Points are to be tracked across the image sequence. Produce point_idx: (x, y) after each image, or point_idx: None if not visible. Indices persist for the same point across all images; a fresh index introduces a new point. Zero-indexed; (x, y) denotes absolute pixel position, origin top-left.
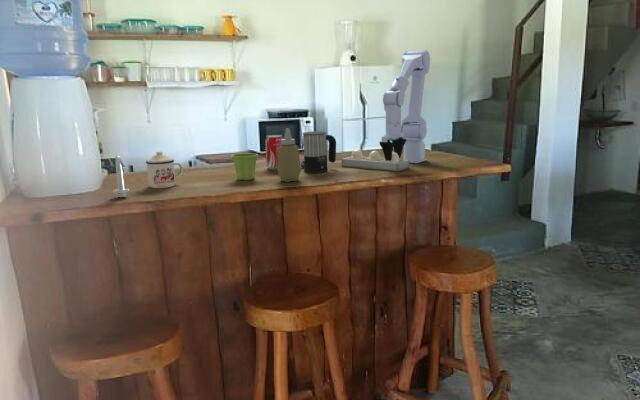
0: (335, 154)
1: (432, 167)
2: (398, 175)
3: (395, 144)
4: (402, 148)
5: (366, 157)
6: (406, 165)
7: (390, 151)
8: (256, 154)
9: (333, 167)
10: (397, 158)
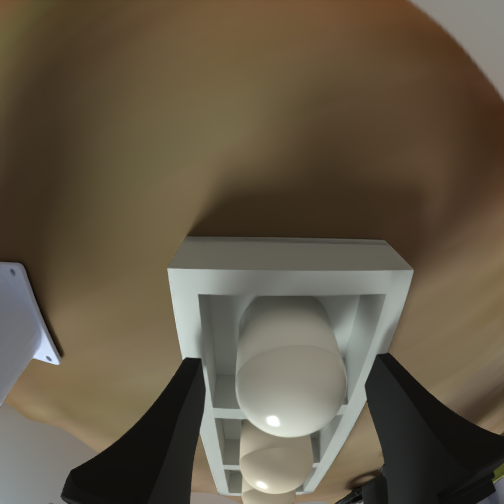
0: (382, 499)
1: (72, 86)
2: (492, 180)
3: (183, 494)
4: (150, 422)
5: (224, 473)
6: (230, 248)
7: (445, 406)
8: (494, 481)
9: (339, 469)
10: (312, 345)
